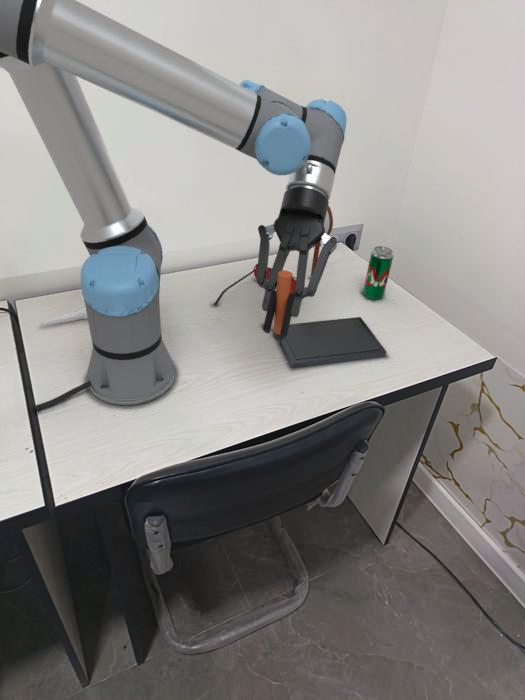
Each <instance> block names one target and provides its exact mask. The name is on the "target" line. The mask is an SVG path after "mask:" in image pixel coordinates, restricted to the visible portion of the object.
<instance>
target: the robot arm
mask: <svg viewBox="0 0 525 700" xmlns="http://www.w3.org/2000/svg"><path fill="white" fill-rule="evenodd" d="M0 68H1V69H3V70H5V71H6V72H7V73H8V74H9V76H10V78H11V80H12V83H13V84H14V86H15V88H16V90H17V93H18V94H19V97H20V99H21V100H22V102H23V104H24V107H25V109H26V110H27V112H28V114H29V116H30V118H31V120H32V122H33V124H34V126H35V128H36V130H37V133H38V134H39V136H40V139H41V141H42V142H43V144H44V147H45V148H46V150H47V152H48V155H49V156H50V158H51V161H52V163H53V164H54V167H55V168H56V171H57V173H58V175H59V177H60V179H61V181H62V183H63V185H64V187H65V188H66V191H67V192H68V195H69V197H70V199H71V201H72V203H73V205H74V207H75V209H76V211H77V213H78V215H79V217H80V219H81V221H82V223H83V226H82V228H81V231H80V234H79V236H80V239H81V241H82V243H83V244H84V246H85V249H86V251H87V253H88V254H89V255H88V257H87V258H86V259H85V261H84V262H83V264H82V265H81V269H80V290H81V295H82V296H83V301H84V307H85V308H86V312H87V317H88V319H87V322H88V328H89V334H90V339H91V343H92V350H91V354H90V357H89V358H90V359H89V362H88V366H87V381H86V382H84V383H82V384H80V385H78V386H76V387H74V388H72V389H70V390H68V391H66V392H64V393H62V394H61V395H59V396H57V397H55V398H53V399H50V400H48V401H45V402H42V403H39V404H36V405H34V407H35V410H36V412H38V411H41V410H45V409H47V408H50V407H53V406H55V405H58V404H59V403H61V402H63V401H65V400H67V399H68V398H70V397H72V396H74V395H77V394H78V393H80V392H83V391H84V390H87V389H88V388H89V389H90V391H91V393H92V394H93V395H94V396H95V397H96V398H97V399H99V400H101V401H102V402H105V403H107V404H110V405H115V406H116V405H117V406H136V405H137V406H138V405H141V404H146V403H148V402H151V401H154V400H156V399H158V398H159V397H161V396H162V395H163V394H165V393H166V392H167V391H168V390H169V389H170V388H171V387H172V385H173V384H174V380H175V365H174V362H173V359H172V357H171V354H170V353H169V350H168V348H167V347H166V345H165V342H164V340H163V337H162V322H161V310H160V309H161V308H160V307H161V306H160V290H161V275H162V274H161V272H162V264H163V260H164V259H163V257H164V256H163V248H162V244H161V241H160V239H159V236H158V234H157V233H156V231H155V230H154V228H153V227H151V225H149V223H148V222H147V219H146V216H145V214H144V212H143V210H141V209H139V208H136V207H134V206H132V205H131V203H130V200H129V199H128V195H127V194H126V191H125V188H124V187H123V186H124V185H123V184H122V182H121V179H120V176H119V174H118V172H117V170H116V167H115V165H114V163H113V160H112V158H111V155H110V152H109V151H108V149H107V146H106V143H105V141H104V139H103V137H102V134H101V133H100V132H101V131H100V130H99V127H98V125H97V121H96V120H95V117H94V115H93V112H92V110H91V107H90V106H89V104H88V101H87V98H86V97H85V94H84V91H83V90H82V87H81V85H80V82H79V80H78V78H80V79H82V80H84V81H87V82H88V83H91V84H93V85H95V86H96V87H99V88H101V89H102V90H103V89H104V90H106V91H108V92H109V93H112V94H115V95H116V96H119V97H121V98H123V99H125V100H127V101H129V102H132V103H134V104H136V105H138V106H140V107H143V108H145V109H147V110H149V111H152V112H154V113H156V114H158V115H160V116H162V117H164V118H167V119H169V120H171V121H174V122H175V123H178V124H180V125H182V126H184V127H186V128H188V129H190V130H193V131H196V132H197V133H200V134H202V135H204V136H206V137H208V138H210V139H212V140H215V141H216V142H219V143H221V144H223V145H225V146H228V147H230V148H231V149H234V150H237V151H238V152H240V153H242V154H243V155H246V156H248V157H251V158H253V159H255V160H256V161H257V163H258V164H259V165H260V166H261V167H262V168H263V169H264V170H266V171H267V172H269V173H270V174H273V175H275V176H287V181H286V185H285V192H284V194H283V196H282V201H281V205H280V210H279V213H278V217H277V218H275V220H274V222H273V224H269V225H266V226H265V225H264V224H260V225H259V226H258V227H257V231H258V236H259V239H260V240H259V251H258V259H257V264H258V267H257V277H256V278H255V281H256V284H257V285H258V286H259V288H262V289H263V290H264V295H263V300H262V304H261V309H262V310H263V311H264V312H266V313H265V317H264V318H265V319H264V322H263V326H262V331H263V332H264V333H265V334H269V335H270V333H271V330H272V327H273V326H272V325H273V323H274V315H275V303H276V291H277V279H278V272H279V271H283V270H284V267H285V265H286V262H287V259H288V257H289V255H290V252H291V251H296V252H298V261H297V270H296V276H295V278H296V279H295V280H296V284H295V290H294V291H295V294H289V298H288V302H287V306H286V310H285V315H284V319H283V323H282V328H281V332H280V334H281V335H282V336H283V337H287V334H288V329H289V325H290V324H291V320H292V318H298V316H299V315H300V312H301V311H300V310H301V306H302V302H303V300H304V299H305V298H309V297H310V298H313V297H315V295H316V293H317V290H318V287H319V285H320V282H321V280H322V277H323V274H324V271H325V268H326V266H327V263H328V261H329V258H330V256H331V255H332V253H333V252H334V251H335V250H336V249H337V246H338V244H337V243H338V242H337V241H338V240H337V238H336V237H335V236H330V235H327V234H326V233H325V228H324V222H325V218H326V213H327V209H328V205H329V204H330V201H329V200H330V198H331V195H332V191H333V187H334V183H335V179H336V172H337V168H338V164H339V161H340V160H339V159H340V155H341V151H342V148H343V145H344V141H345V135H346V129H347V121H348V120H347V119H348V117H347V114H346V111H345V110H344V109H343V107H342V106H341V105H340V104H339V103H337V102H336V101H333V100H328V101H327V100H325V99H323V98H318V99H314V100H312V101H309V102H308V103H307V104H306V106H303V105H300V104H299V103H297V102H294V101H293V100H291V99H289V98H286V97H285V96H283V95H281V94H279V93H277V92H275V91H273V90H271V89H270V88H268V87H266V86H265V85H263V84H259V83H256V82H254V81H252V80H249V79H244V80H242V81H241V82H240V83H239V84H238V83H237V82H234V81H233V80H230V79H228V78H227V77H224V76H223V75H221V74H219V73H217V72H215V71H213V70H211V69H209V68H207V67H205V66H203V65H201V64H200V63H198V62H196V61H194V60H192V59H190V58H188V57H187V56H184V55H182V54H180V53H178V52H176V51H174V50H172V49H171V48H169V47H168V46H167V47H166V46H165V45H163V44H161V43H159V42H157V41H156V40H153V39H151V38H149V37H147V36H145V35H144V34H141V33H140V32H138V31H136V30H134V29H133V28H130V27H128V26H126V25H124V24H122V23H120V22H118V21H117V20H115V19H113V18H110V17H109V16H107V15H105V14H103V13H101V12H100V11H98V10H95V9H93V8H91V7H90V6H87V5H86V4H84V3H82V2H80V1H78V0H0ZM274 233H276V235H277V238H278V240H279V245H278V251H277V254H276V256H275V258H274V262H273V264H272V266H271V269H272V270H271V273H270V276H269V278H268V280H266V277H267V267H268V265H269V257H270V256H269V255H270V248H271V245H270V243H271V242H270V241H271V240H272V239H273V238H274ZM320 240H321V241H320ZM319 241H320V248H321V250H320V251H319V255H318V260H317V263H316V265H315V268H314V271H313V273H312V276H311V275H310V276H311V277H310V279H309V281H308V284H307V286H306V285H305V284H306V276H307V268H308V259H309V253H310V250H312V249H313V248H314V247H315V245H316V244H317V243H318V242H319ZM305 286H306V287H305Z"/></svg>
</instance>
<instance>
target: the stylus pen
mask: <svg viewBox="0 0 525 700" xmlns="http://www.w3.org/2000/svg"><path fill="white" fill-rule="evenodd" d="M78 320H88V317H87V312H86V307H83V308H81V309H79V310H77V311H74V312H71V313H68V314H63V315H60V316H58V317H55V318H52V319H48V320H46V321H43V322H41V323H39V326H49V325H56V324H61V323H69V322H70V323H71V322H75V321H78Z"/></svg>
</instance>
